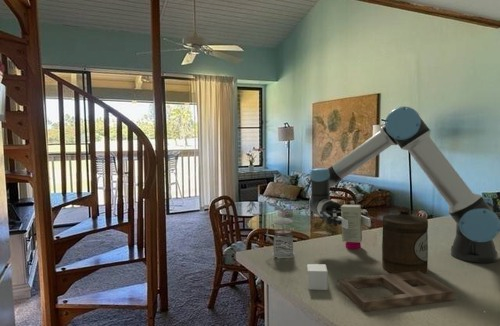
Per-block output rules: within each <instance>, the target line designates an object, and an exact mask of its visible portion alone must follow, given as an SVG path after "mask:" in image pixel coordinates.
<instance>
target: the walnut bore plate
mask: <svg viewBox="0 0 500 326" xmlns="http://www.w3.org/2000/svg"><path fill="white" fill-rule="evenodd" d="M378 286H384V287H385V289H388V290H389V291H391V292H392V293H393V294H392V295H384V296H377V297H368V298H367V297H366V296H365V295H364V294H362V293H361V291H359V290H358V289H362V288H369V287H370V288H372V287H378ZM338 288H339V289H340V290H341V291H342V292H343V293H344V294H346V295H347V297H349V298H350V300H351V301H353V303H354V304H356V305H357V306H358V307H359V308H360V309H361V310H362V311H363V312H370V311H377V310H385V309H386V310H387V309H393V308H394V309H395V308H401V307H409V306H410V307H411V306H417V305H425V304H433V303H434V304H435V303H441V302H448V301H449V302H451V301H455V300H456V291H455V290H453V289H452V288H450V287H449V286H446V285H444V284H443V283H441V282H439V281H438V280H436V279H434V278H433V277H430V276H429V275H427V274H423V273H421V272H420V271H413V272H403V273H386V274H378V275H377V274H376V275H369V276H367V275H366V276H360V277H350V278H341V279H338Z"/></svg>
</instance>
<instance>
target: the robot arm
mask: <svg viewBox="0 0 500 326" xmlns="http://www.w3.org/2000/svg"><path fill="white" fill-rule="evenodd" d="M397 145H398V146H399V147H400V149H401V150H403V151H408V153H409V154H410V155H411V157H413V159H414V161H415V162H416V163H417V165H418V166H419V167H420V169H421V170H422V171H423V172H424V174H425V176H426V177H427V178H428V179H429V181H430V182H431V183H432V185H433V186H434V187H435V189H436V190H437V191H438V193H439V194H440V196H441V197H442V198H443V199H444V201H445V202H446V203H447V204H448V210H447V211H448V214H449V215H450V216H451V218H452V219H453V220H454V222H455V223H456V224H455V225H456V226H455V227H456V229H455V233H456V234H455V237H454V239H453V243H452V245H451V247H450V255H451V256H452V257H454V258H456V259H458V260H462V261H466V262H472V263H478V264H479V263H480V264H489V263H490V264H491V263H494V262H495V263H496V262H497V261H498V259H499V258H498V254H499V253H498V251H497V249H496V245H495V243H494V239H495V238H497V236H498V235H499V234H500V217H499V215H497V213H495V212H494V201H493V199H492V198H491V197H483V196H482V195H481V194H478V193H474V192H473V191H472V190H471V189H470V188H469V186H468V184H467V183H466V182H465V181H464V180H463V178H462V176H460V174H459V173H458V171H456V169H455V168H454V167H453V165H452V164H451V162H450V161H449V160H448V159H447V158H446V156H445V155H444V154H443V152H442V151H441V150H440V148H439V147H438V146H437V145H436V143H435V142H434V141H433V139H431V129H430V128H429V127H428V125H427V124H426V122H425V121H424V120H423V119H422V117H421V116H420V114H419V112H417V110H415V109H414V108H412V107H411V106H410V107H409V106H398V107H397V108H394V109H392V110H391V111H390V112H389V113H388V114H387V116H386V118H385V121H384V124H383V125H382V126H381V127H380V130H379V131H377V132H376V133H375V134H374V135H372V136H370V137H369V138H367V140H365V141H364V142H363V143H362V144H360V145H359V146H357V147H355V149H353V150H352V151H350V152H348V153H347V154H346V155H344V156H343V157H342V158H341V159H339V160H338V161H336V162H335V163H334V164H332V165H331V166H330V167H328V168H325V167H322V168H320V167H318V168H317V167H316V168H313V169H311V170H310V171H311V172H310V182H311V184H310V185H311V186H310V188H311V197H310V199H309V200H308V208H309V210H310V211H312V213H314V214H316V215H319V218H320V219H322V220H323V221H325V222H326V224H329V225H332V224H333V227H337V226H339V227H341V228H342V227H344V228H345V229H348V220H346V219H344V218H342V217H341V206H342V205H341V204H340V203H338V202H336V201H334V200H331V195H330V194H331V191H330V190H331V189H330V188H331V187H334V186H336V185H337V184H338V183H339V182H341V181H342V180H344V179H345V178H346V177H348V176H350V175H351V174H352V173H353V172H355V171H356V170H358V169H359V168H361V167H362V166H364V165H365V164H366V163H368V162H369V161H371V160H372V159H374V158H375V157H377V156H379V155H380V154H381V153H382V152H384V151H386V150H388V148H389V147H391V146H397ZM371 222H372V221H371V218H370V217H368V213H366V212H362V211H361V224H362V225H363V226H366V227H368V228H371V226H372V223H371Z"/></svg>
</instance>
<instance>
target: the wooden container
mask: <svg viewBox="0 0 500 326" xmlns="http://www.w3.org/2000/svg"><path fill="white" fill-rule="evenodd" d="M398 211H399V212H400V213H390V214H386V215H384V216H383V217H382V243H381V244H382V245H381V253H382V254H381V256H382V257H381V258H382V259H381V266H382V267H381V268H382V269H384V270H385V271H387V272H389V273H390V274H394V273H403V272H413V271H420V272H421V273H423V274H425V275H427V274H426V273H428V267H429V265H428V261H429V241H428V238H429V234H428V229H429V219H428V218H427V217H424V216H421V215H417V214H410V208H408V207H406V206H402V207H400V208H399V209H398Z"/></svg>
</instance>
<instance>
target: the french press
mask: <svg viewBox="0 0 500 326" xmlns="http://www.w3.org/2000/svg"><path fill="white" fill-rule="evenodd" d="M279 197H280V198H281V207H282V208H281V210H282V211H281V213H282V217H277V218H276V219H274V220H273V221H272V223H273V224H270V225H269V226H268V227H267V229H266V232H265V233H266V238H267V239H268V241H269V242H270V243H272V244H273V245H272V246H273V252H272V254H271V256H272V257H273V256H274V257H273V258H275V257H277V258H276V259H280V258H288V259H293V258H294V257H296V253H295V252H294V238H293V237H294V235H293V234H292V233H293V230H291V229H288V228H287V229H286V228H281V229H274V228H275V225H278V226H279V225H281V226H286V225H292V224H293V223H294V222H293V220H292V219H290V218H288V217H284V209H283V208H284V206H283V201H284V200H283V198H284V197H285V194H284V193H281V194H280V195H279ZM271 227H272V229H274V235H273V240H272V239H271V238H270V236H269V229H270V228H271Z"/></svg>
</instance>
